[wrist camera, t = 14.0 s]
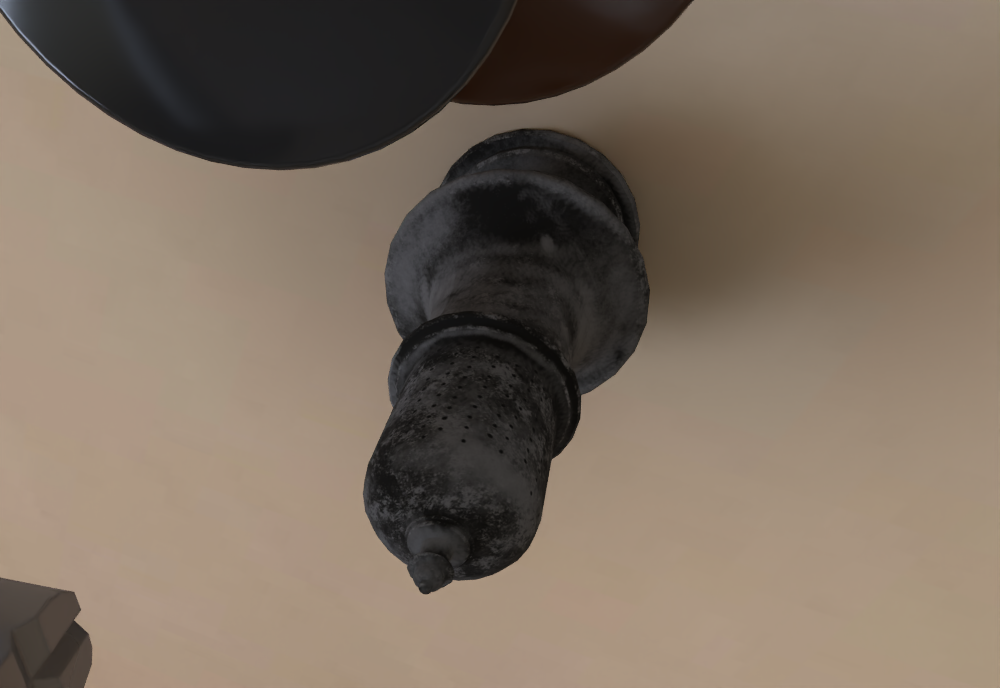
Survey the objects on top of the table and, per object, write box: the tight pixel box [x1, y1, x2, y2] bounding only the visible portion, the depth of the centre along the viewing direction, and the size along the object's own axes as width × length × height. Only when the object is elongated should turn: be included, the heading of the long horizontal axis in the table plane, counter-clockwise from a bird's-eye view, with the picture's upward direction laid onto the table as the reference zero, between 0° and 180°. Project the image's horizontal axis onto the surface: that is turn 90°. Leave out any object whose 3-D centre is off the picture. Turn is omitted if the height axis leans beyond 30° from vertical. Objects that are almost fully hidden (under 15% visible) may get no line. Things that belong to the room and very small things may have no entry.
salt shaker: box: [363, 129, 650, 594], centre depth 17 cm, size 6×6×12 cm
